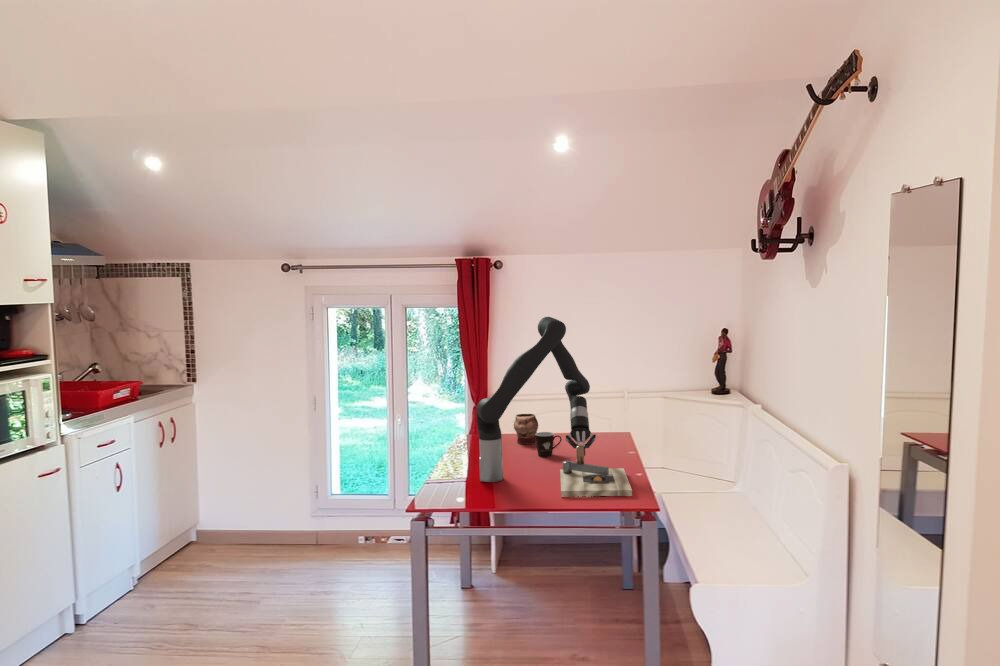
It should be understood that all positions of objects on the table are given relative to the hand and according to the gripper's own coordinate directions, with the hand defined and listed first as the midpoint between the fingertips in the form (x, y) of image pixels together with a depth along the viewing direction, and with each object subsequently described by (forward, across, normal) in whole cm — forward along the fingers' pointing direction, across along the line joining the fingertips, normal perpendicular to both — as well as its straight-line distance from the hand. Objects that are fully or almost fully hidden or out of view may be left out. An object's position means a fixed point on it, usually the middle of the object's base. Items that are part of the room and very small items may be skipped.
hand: (582, 456), depth 267 cm
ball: (+11, +5, -1) cm, 13 cm away
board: (+12, +4, 0) cm, 13 cm away
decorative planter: (-38, -25, +53) cm, 69 cm away
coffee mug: (-19, -14, +33) cm, 41 cm away
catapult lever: (+7, +1, +2) cm, 7 cm away
